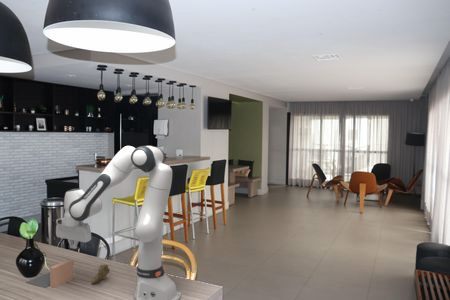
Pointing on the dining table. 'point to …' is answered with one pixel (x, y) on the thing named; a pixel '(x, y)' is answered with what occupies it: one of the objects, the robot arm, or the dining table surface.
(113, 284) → the dining table surface
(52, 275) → the tile
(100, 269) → the pottery shard
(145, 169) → the robot arm
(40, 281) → the mat
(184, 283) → the dining table surface
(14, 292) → the dining table surface
